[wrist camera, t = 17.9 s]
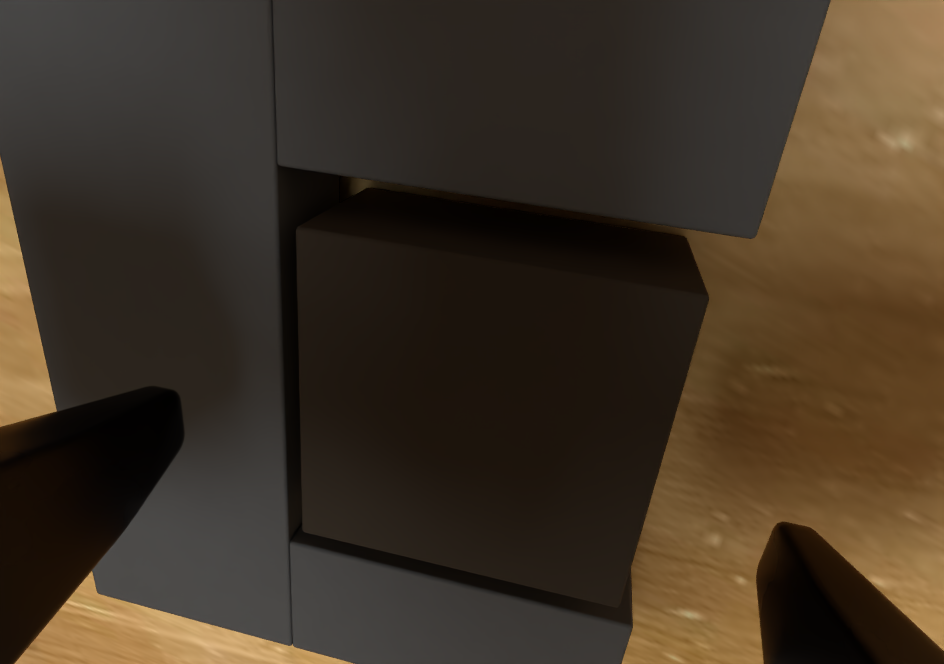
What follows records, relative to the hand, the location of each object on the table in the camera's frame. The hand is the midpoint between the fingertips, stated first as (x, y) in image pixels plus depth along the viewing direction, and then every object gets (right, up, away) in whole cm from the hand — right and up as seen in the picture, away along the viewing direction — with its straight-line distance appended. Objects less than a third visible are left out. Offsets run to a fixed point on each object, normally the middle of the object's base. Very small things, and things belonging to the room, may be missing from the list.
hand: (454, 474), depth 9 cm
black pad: (+1, +2, +4) cm, 4 cm away
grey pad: (-2, +2, +4) cm, 5 cm away
